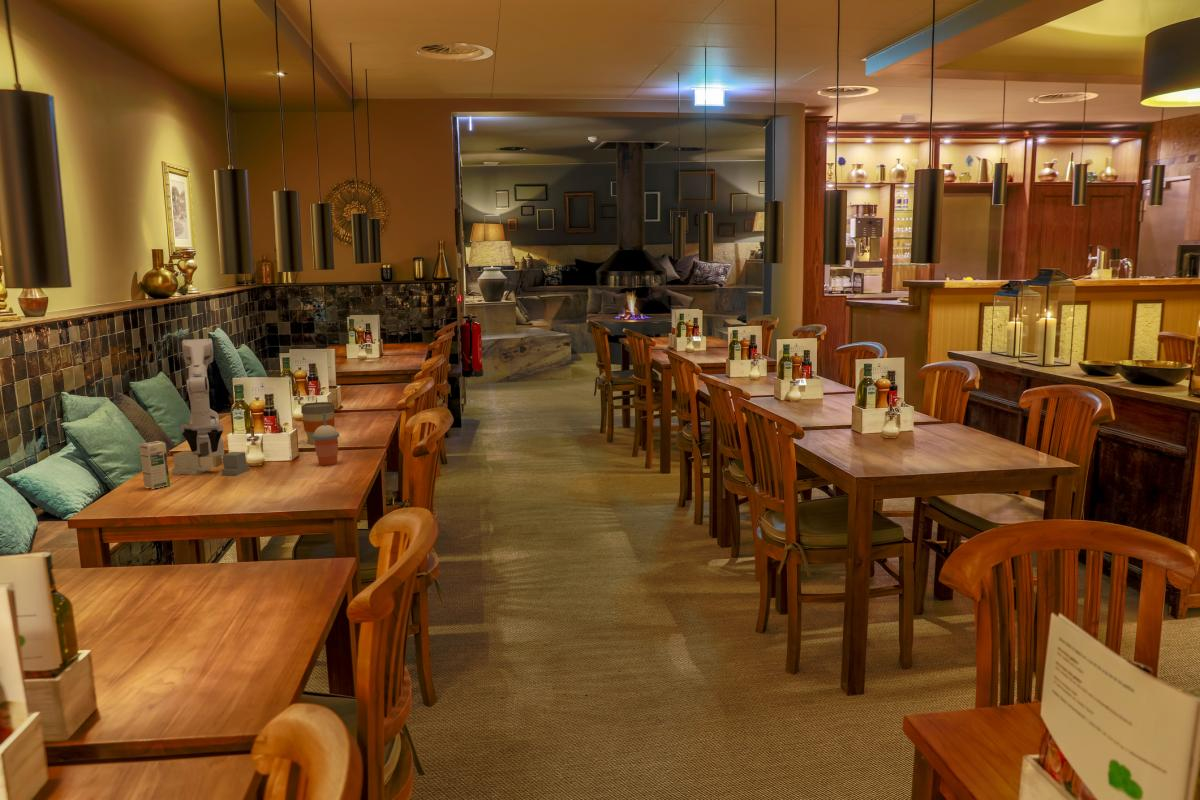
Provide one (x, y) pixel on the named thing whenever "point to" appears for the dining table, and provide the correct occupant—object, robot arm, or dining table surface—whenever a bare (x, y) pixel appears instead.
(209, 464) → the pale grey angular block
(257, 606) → the dining table surface
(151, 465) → the syrup box
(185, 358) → the robot arm
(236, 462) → the slate stepped block
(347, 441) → the dining table surface
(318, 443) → the cup with straw
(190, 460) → the beige stepped block
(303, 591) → the dining table surface
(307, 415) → the reusable coffee cup
